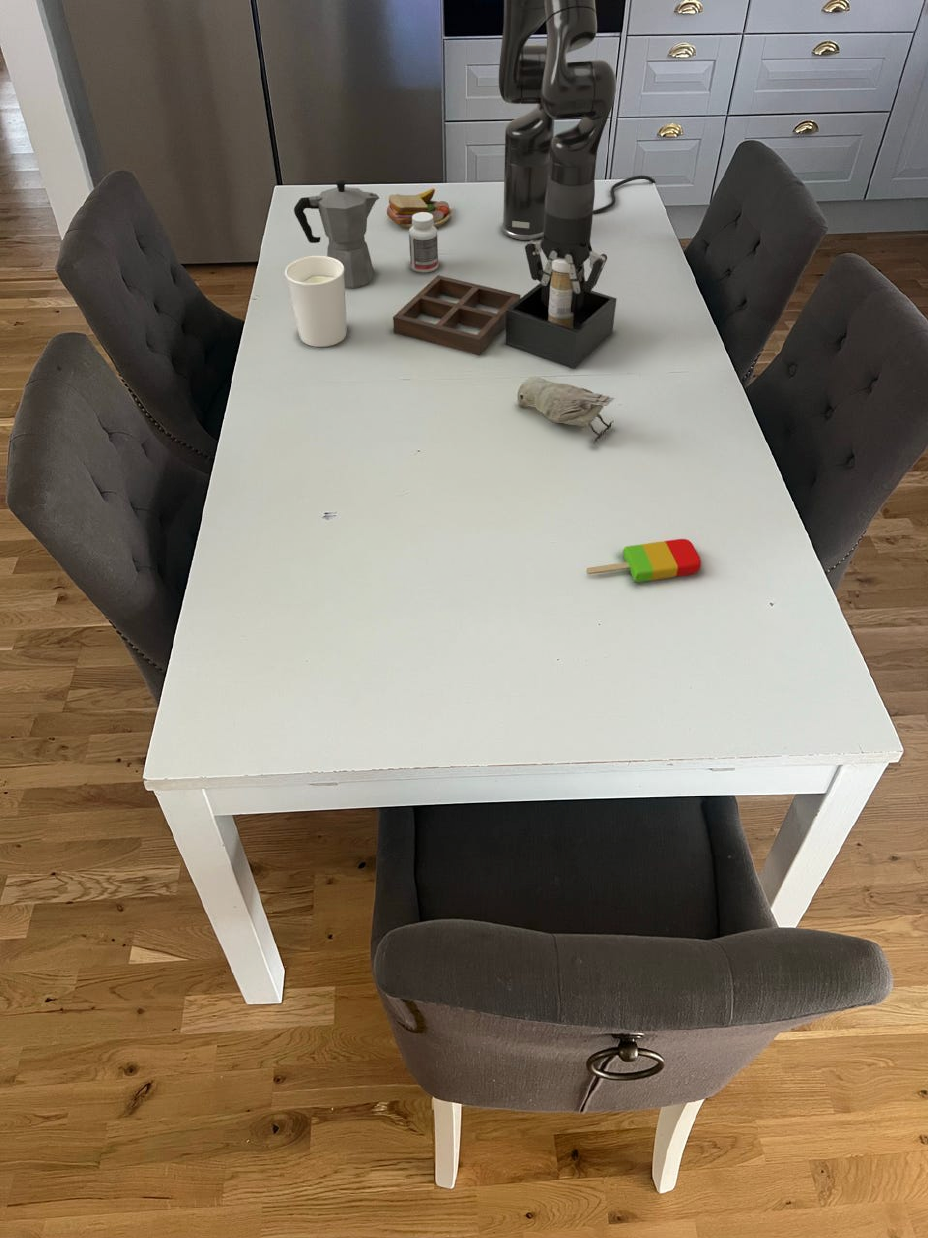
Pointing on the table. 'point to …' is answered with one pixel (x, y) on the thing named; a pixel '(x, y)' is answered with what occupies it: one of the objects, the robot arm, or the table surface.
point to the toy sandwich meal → (417, 208)
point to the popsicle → (656, 560)
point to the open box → (559, 327)
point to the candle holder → (318, 299)
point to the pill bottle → (423, 243)
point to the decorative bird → (564, 402)
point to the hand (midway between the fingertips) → (561, 307)
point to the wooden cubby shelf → (455, 314)
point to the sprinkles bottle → (561, 294)
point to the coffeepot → (343, 228)
